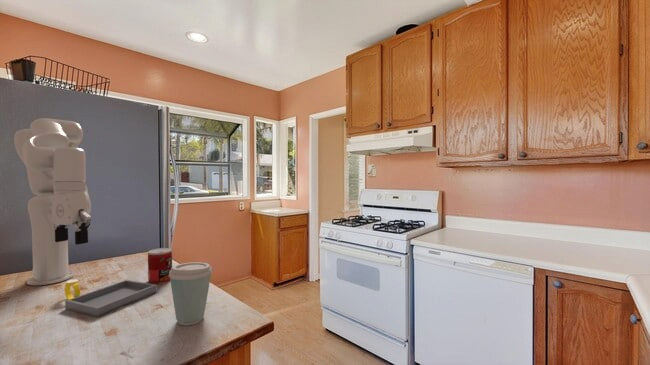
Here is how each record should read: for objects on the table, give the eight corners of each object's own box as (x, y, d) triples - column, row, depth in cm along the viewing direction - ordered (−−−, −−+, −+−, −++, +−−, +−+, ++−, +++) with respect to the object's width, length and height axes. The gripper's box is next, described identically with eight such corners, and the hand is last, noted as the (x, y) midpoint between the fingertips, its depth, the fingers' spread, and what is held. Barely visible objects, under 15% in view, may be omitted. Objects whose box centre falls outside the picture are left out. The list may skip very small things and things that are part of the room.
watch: (82, 300, 90) (83, 281, 90) (72, 303, 88) (72, 284, 88) (72, 295, 93) (72, 277, 93) (61, 298, 90) (61, 280, 90)
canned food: (162, 284, 103) (161, 253, 102) (142, 282, 104) (142, 252, 104) (177, 277, 110) (176, 248, 110) (159, 275, 112) (158, 247, 111)
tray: (65, 309, 84) (65, 300, 83) (127, 286, 100) (126, 279, 100) (97, 317, 79) (97, 308, 79) (156, 292, 96) (156, 284, 96)
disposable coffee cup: (182, 310, 83) (181, 258, 83) (219, 310, 83) (219, 258, 82) (160, 330, 72) (159, 270, 72) (202, 330, 72) (202, 271, 72)
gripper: (38, 187, 89) (39, 242, 89) (74, 188, 83) (75, 247, 83) (67, 186, 96) (68, 238, 96) (102, 187, 90) (103, 242, 90)
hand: (71, 242), depth 90 cm, fingers open, 9 cm apart
